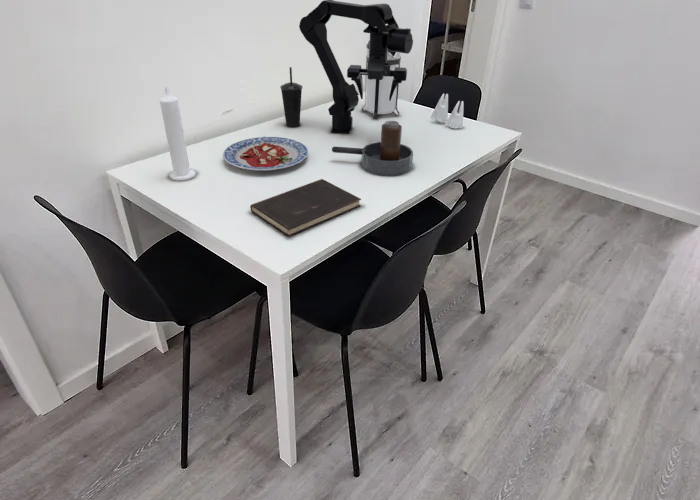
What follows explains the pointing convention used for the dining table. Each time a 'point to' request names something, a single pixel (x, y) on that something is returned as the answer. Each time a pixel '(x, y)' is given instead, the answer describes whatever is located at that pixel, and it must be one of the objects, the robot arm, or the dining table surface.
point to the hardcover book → (305, 207)
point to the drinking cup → (292, 102)
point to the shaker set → (442, 113)
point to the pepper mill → (390, 141)
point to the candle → (175, 138)
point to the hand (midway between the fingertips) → (375, 99)
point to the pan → (383, 167)
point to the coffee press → (382, 89)
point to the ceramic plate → (265, 153)
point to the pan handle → (348, 150)
